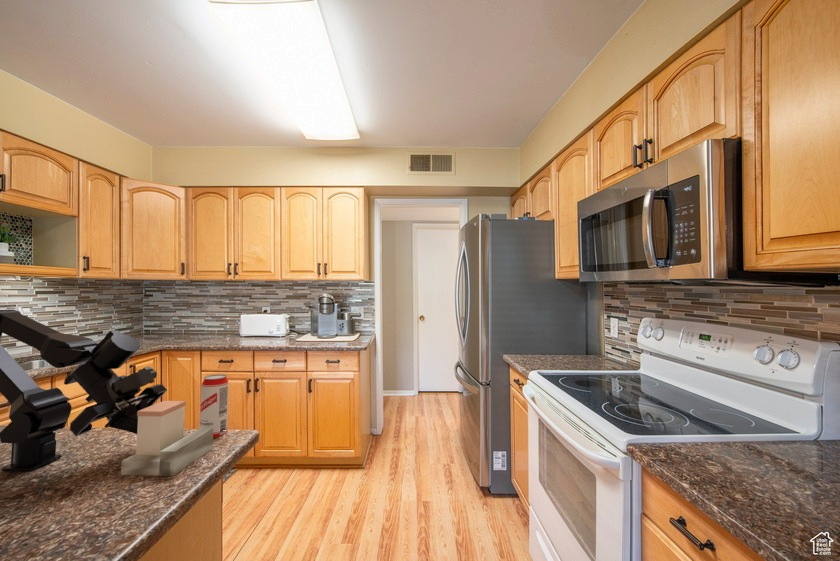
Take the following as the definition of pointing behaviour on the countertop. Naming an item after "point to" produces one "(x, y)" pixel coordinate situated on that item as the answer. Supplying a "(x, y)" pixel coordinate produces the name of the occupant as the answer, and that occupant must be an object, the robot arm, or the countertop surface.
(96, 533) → the countertop surface
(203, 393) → the beer can
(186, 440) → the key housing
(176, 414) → the push key
